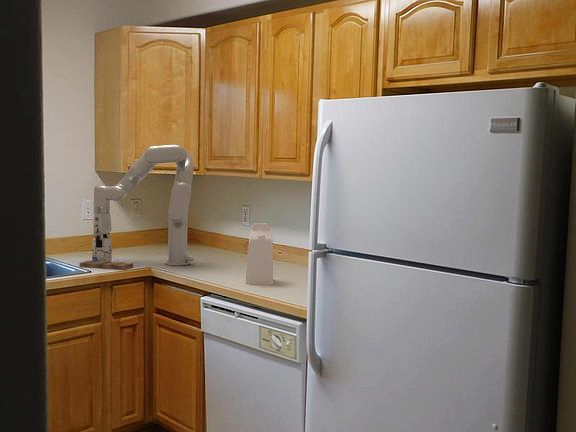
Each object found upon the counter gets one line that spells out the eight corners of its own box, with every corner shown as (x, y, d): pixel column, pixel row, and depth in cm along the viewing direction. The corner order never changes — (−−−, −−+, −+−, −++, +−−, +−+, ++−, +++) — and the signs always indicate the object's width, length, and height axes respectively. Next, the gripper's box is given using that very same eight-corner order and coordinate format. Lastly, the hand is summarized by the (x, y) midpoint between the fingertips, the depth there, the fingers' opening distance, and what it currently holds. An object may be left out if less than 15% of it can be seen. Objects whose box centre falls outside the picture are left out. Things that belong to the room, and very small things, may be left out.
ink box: (91, 261, 300) (91, 238, 299) (97, 260, 305) (97, 237, 304) (106, 263, 298) (106, 239, 297) (112, 261, 302) (112, 238, 301)
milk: (272, 279, 274) (274, 222, 271) (273, 284, 262) (274, 225, 260) (246, 278, 273) (247, 221, 271) (245, 284, 262) (246, 224, 260)
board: (133, 267, 294) (133, 263, 294) (125, 270, 286) (125, 265, 286) (88, 264, 299) (88, 260, 299) (79, 266, 291) (79, 262, 291)
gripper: (100, 212, 290) (100, 249, 292) (117, 209, 307) (117, 245, 308) (85, 211, 291) (86, 248, 293) (103, 208, 308) (103, 244, 310)
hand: (102, 246), depth 301 cm, fingers closed on ink box, 5 cm apart
